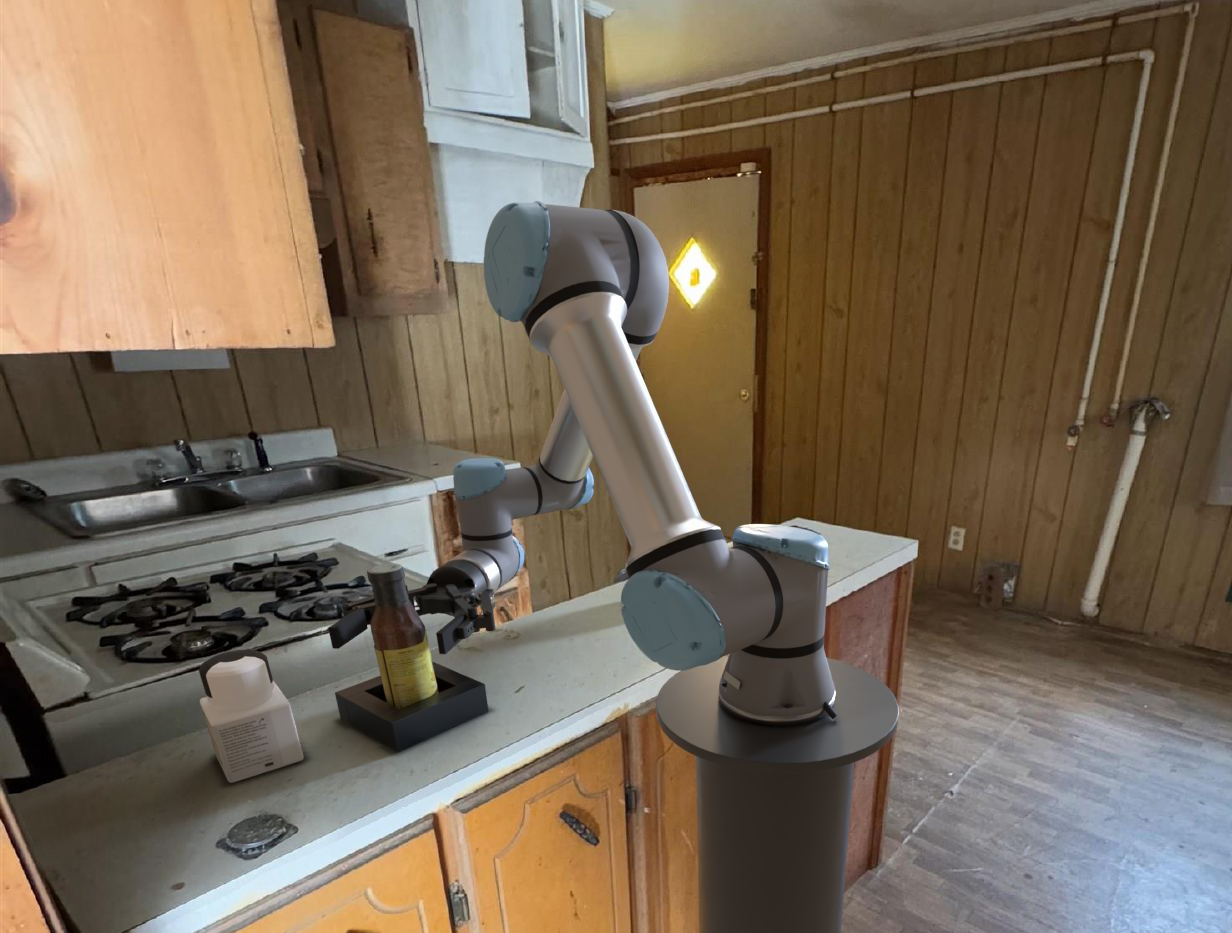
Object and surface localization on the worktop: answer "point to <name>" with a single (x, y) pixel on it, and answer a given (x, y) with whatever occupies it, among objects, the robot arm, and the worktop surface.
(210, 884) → the worktop surface
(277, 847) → the worktop surface
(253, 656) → the container
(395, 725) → the black square socket
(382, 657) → the sauce bottle
